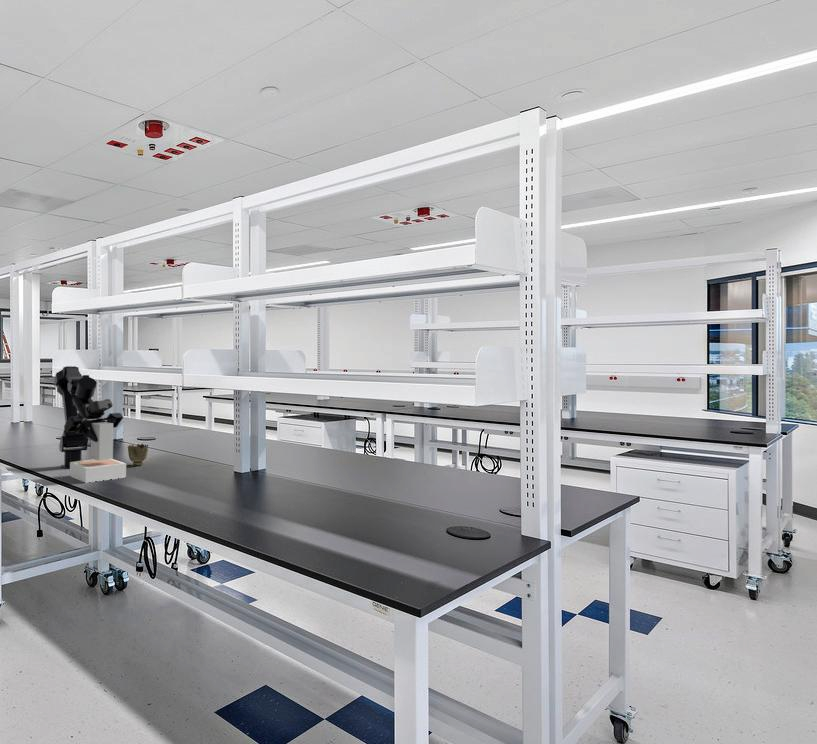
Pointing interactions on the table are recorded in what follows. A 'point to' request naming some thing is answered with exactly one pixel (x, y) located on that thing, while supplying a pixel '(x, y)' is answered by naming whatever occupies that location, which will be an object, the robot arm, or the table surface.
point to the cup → (137, 453)
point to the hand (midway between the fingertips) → (104, 440)
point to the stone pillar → (102, 441)
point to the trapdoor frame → (97, 471)
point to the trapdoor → (97, 463)
